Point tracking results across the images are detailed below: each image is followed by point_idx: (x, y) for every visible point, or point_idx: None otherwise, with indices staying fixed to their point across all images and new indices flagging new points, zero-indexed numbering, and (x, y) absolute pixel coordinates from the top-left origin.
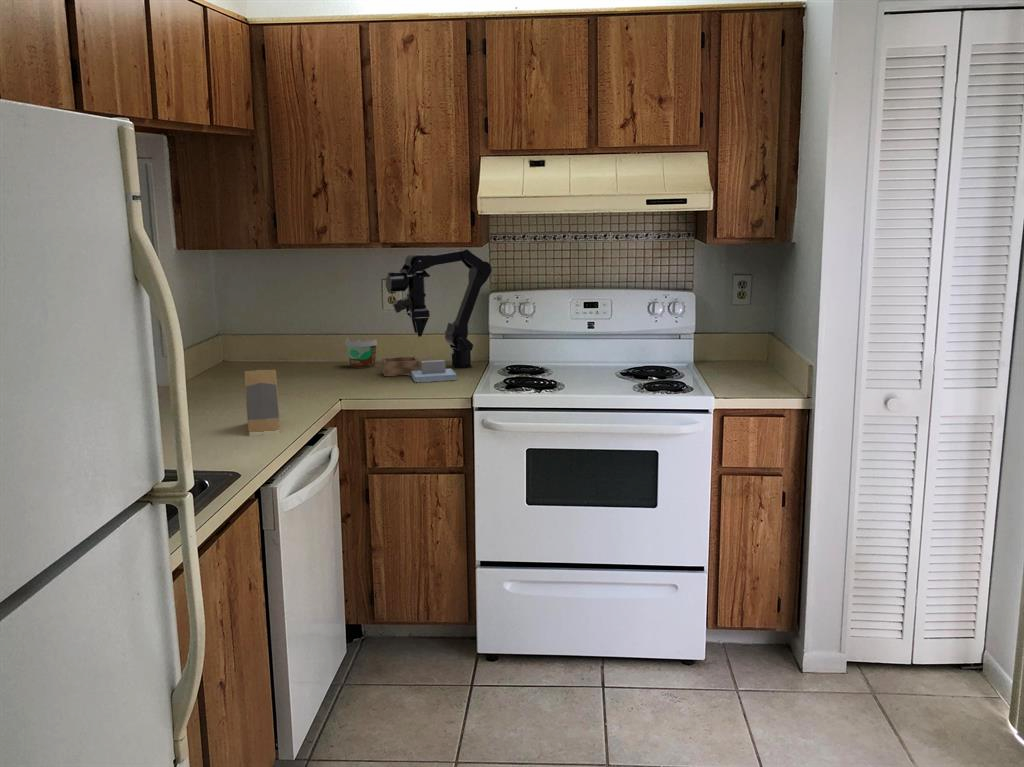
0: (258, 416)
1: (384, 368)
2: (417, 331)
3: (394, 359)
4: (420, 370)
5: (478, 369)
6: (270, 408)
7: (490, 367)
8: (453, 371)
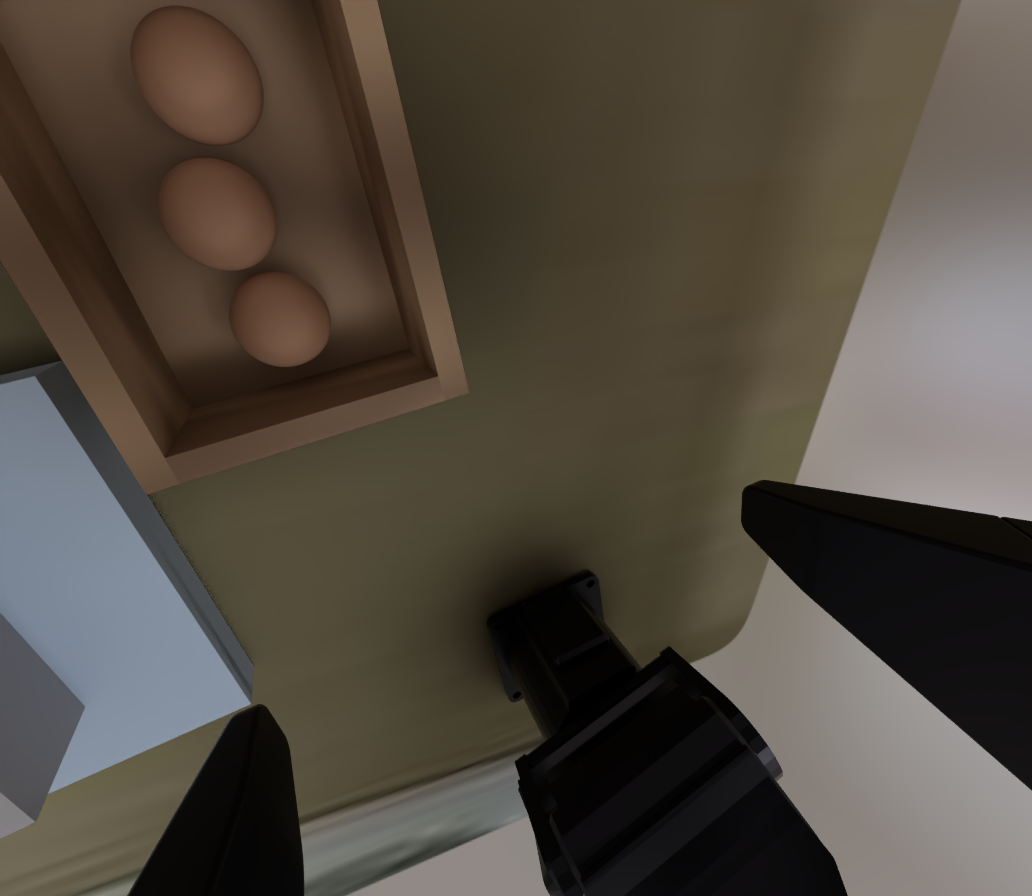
0: None
1: None
2: (142, 870)
3: (365, 109)
4: (88, 480)
5: (438, 748)
6: None
7: (493, 776)
8: (92, 771)
